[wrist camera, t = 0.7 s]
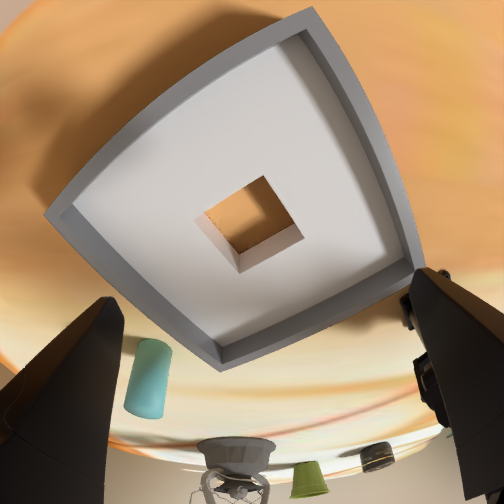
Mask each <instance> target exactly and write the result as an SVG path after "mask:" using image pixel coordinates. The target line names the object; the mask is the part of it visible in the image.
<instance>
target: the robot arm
mask: <svg viewBox="0 0 504 504" xmlns="http://www.w3.org/2000/svg"><path fill="white" fill-rule="evenodd" d="M400 304H401V307H402V310H403V313H404V317H405V320H406V323H407V327H408V329H409V330H410V331H411V330H413V329H415V330H416V332H417V334H418V336H419V337H420V339H421V341H422V343H423V345H424V347H425V349H426V351H427V352H425V353H424V354H423V355H421V356H420V357H419V358H416V359H415V360H413V364H414V371H415V375H416V379H417V383H418V387H419V391H420V395H421V400H422V402H424V403H426V404H427V405H428V406H429V408H430V409H432V410H433V411H435V414H436V417H437V420H438V422H439V423H440V424H441V425H442V426H444V427H446V428H448V427H450V428H451V429H452V433H453V437H454V442H455V446H456V448H457V449H456V451H457V456H458V460H459V466H460V472H461V477H462V483H463V490H464V497H465V500H466V501H467V500H470V499H472V498H475V497H477V496H480V495H483V494H485V497H486V500H487V504H504V314H503V313H502V312H500V311H499V310H497V309H496V308H494V307H493V306H491V305H489V304H488V303H486V302H485V301H483V300H482V299H480V298H479V297H477V296H475V295H474V294H472V293H471V292H469V291H467V290H466V289H464V288H462V287H461V286H459V285H458V284H456V283H454V282H453V281H451V278H450V274H449V272H448V271H446V272H444V273H442V274H439V273H437V272H436V271H434V270H432V269H430V268H429V267H423V268H417V269H416V270H415V272H414V275H413V278H412V281H411V284H410V287H409V294H408V295H406V296H404V297H403V298H401V300H400ZM123 331H124V316H123V314H122V312H121V310H120V308H119V306H118V304H117V302H116V300H115V298H114V297H111V296H109V297H100V298H99V299H98V300H97V301H96V302H94V303H93V304H92V305H91V306H90V307H89V308H88V309H86V310H85V311H84V312H83V313H82V314H81V315H80V316H78V317H77V318H76V319H75V320H74V321H73V322H72V323H71V324H70V325H68V326H67V327H66V328H65V329H64V330H63V331H62V332H61V333H60V334H59V335H57V336H56V337H55V338H54V339H53V340H52V341H51V342H50V343H49V344H48V345H47V346H46V347H45V348H44V349H42V350H41V351H40V352H39V353H38V354H37V355H36V356H35V357H34V358H33V359H32V360H31V361H30V362H29V363H28V364H27V365H26V366H25V368H23V369H22V370H21V371H20V372H19V373H18V374H17V375H16V376H15V377H14V378H13V379H12V380H11V381H10V382H9V383H8V384H7V385H6V386H5V387H4V388H3V389H1V390H0V504H104V481H105V466H106V455H107V446H108V437H109V429H110V421H111V414H112V408H113V401H114V395H115V390H116V384H117V378H118V373H119V367H120V360H121V349H122V340H123Z"/></svg>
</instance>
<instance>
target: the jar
mask: <svg viewBox="0 0 504 504" xmlns="http://www.w3.org/2000/svg"><path fill="white" fill-rule="evenodd" d="M360 459H361V463H362V469H363V472H364V473H368V472H372V471H376V470H379V469H382V468H384V467H387V466H390V465H391V464H393V463H394V462H395V459H394V456H393V452H392V448H391V446H390V444H389V443H388V442H381V443H377V444H374V445H372V446H369V447H367V448H365V449H363V450H362V451H361V453H360Z"/></svg>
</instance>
